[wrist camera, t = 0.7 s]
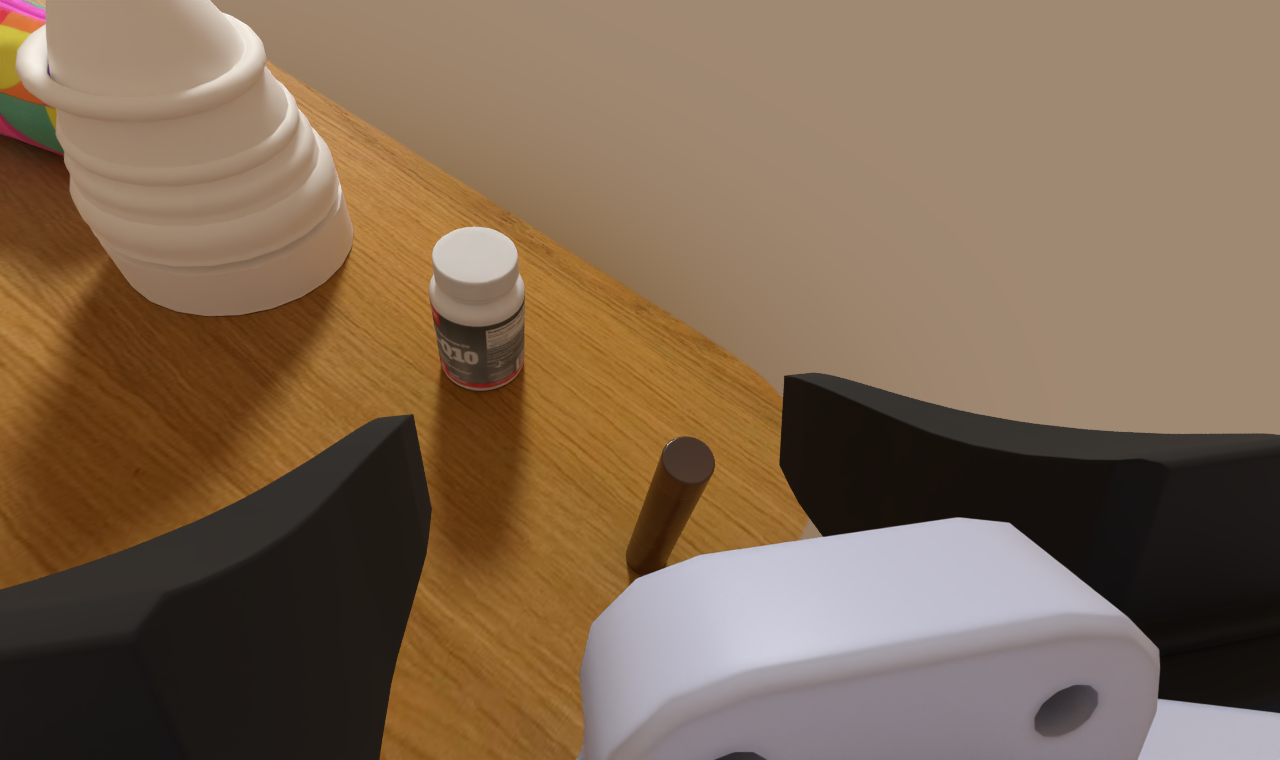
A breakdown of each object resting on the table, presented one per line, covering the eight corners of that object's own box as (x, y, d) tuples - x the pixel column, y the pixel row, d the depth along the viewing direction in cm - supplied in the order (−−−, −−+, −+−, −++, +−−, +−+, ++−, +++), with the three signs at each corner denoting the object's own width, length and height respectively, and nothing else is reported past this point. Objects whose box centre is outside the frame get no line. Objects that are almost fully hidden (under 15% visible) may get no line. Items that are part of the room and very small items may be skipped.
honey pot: (67, 255, 36) (-242, -130, 21) (247, 153, 43) (108, -182, 29) (238, 350, 34) (24, -4, 19) (396, 226, 41) (326, -96, 27)
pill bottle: (424, 357, 35) (400, 247, 28) (488, 317, 38) (480, 208, 31) (477, 408, 34) (465, 305, 27) (541, 363, 36) (544, 258, 30)
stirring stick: (669, 572, 30) (722, 480, 22) (630, 579, 29) (669, 487, 21) (660, 534, 31) (707, 432, 23) (622, 540, 30) (656, 438, 23)
